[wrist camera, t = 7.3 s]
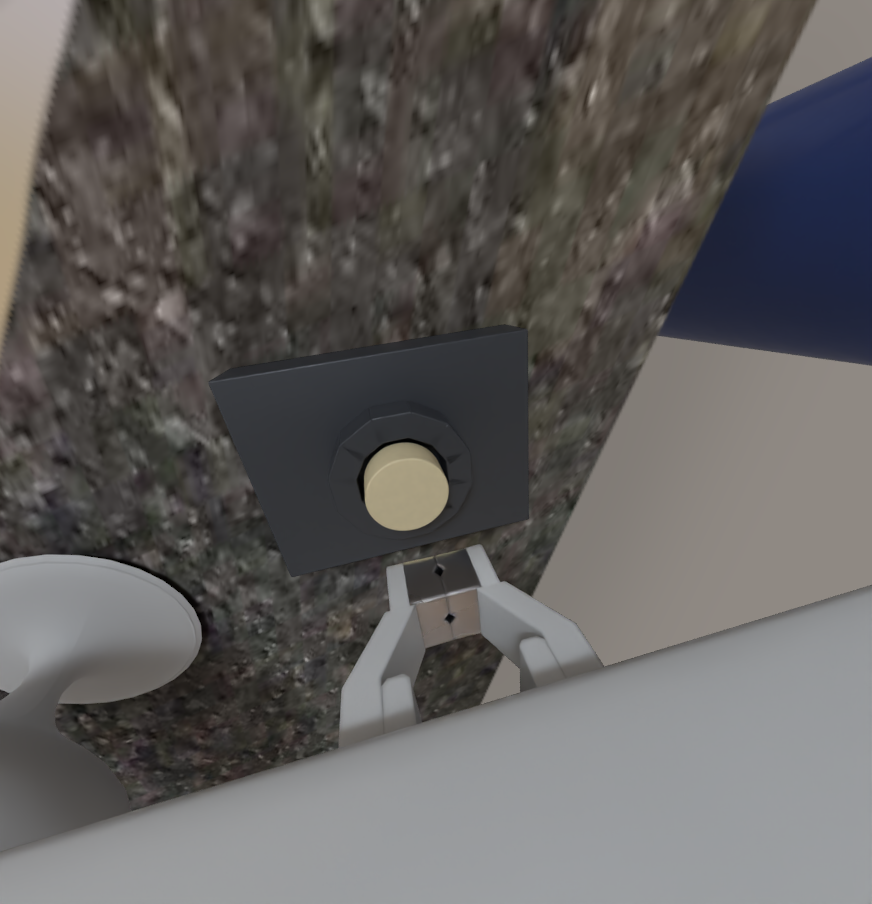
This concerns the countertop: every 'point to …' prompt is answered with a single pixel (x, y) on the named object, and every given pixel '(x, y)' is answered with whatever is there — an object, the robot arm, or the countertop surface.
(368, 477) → the push button switch
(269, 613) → the countertop surface
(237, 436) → the push button plate
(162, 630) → the chalice
